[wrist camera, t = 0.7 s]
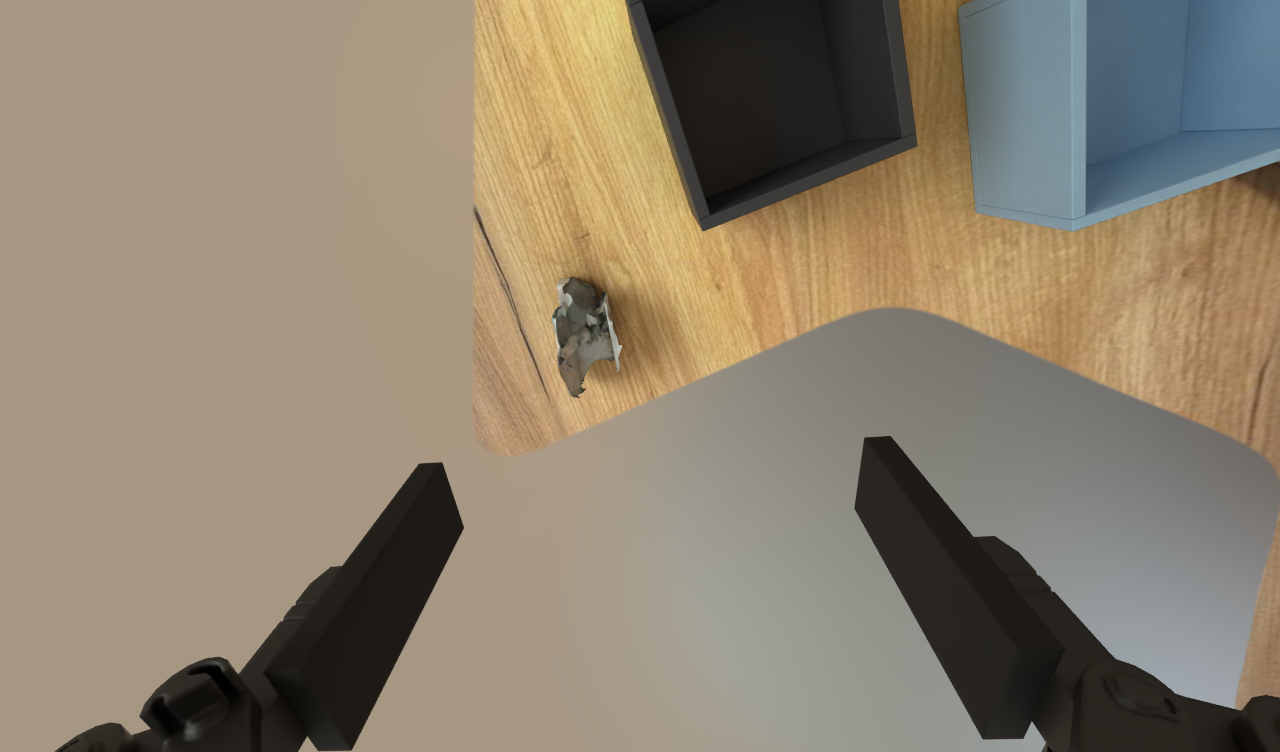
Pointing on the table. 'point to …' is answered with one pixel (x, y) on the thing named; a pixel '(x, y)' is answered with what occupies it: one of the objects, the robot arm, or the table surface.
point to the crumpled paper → (582, 332)
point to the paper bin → (1115, 102)
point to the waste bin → (773, 94)
